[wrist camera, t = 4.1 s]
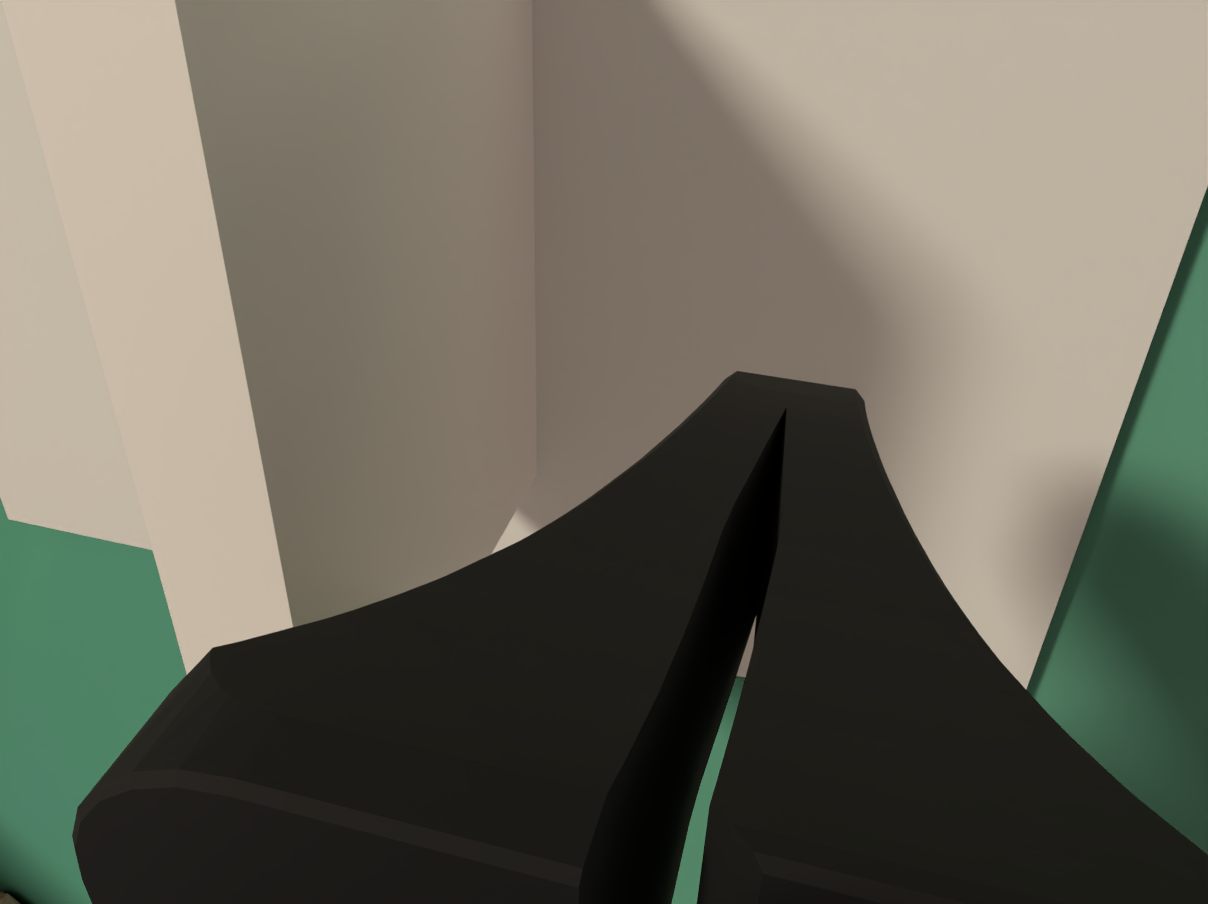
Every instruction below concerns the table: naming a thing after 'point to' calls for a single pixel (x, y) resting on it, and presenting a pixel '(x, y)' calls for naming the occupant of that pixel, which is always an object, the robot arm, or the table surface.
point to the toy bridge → (7, 899)
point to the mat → (777, 259)
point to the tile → (301, 284)
